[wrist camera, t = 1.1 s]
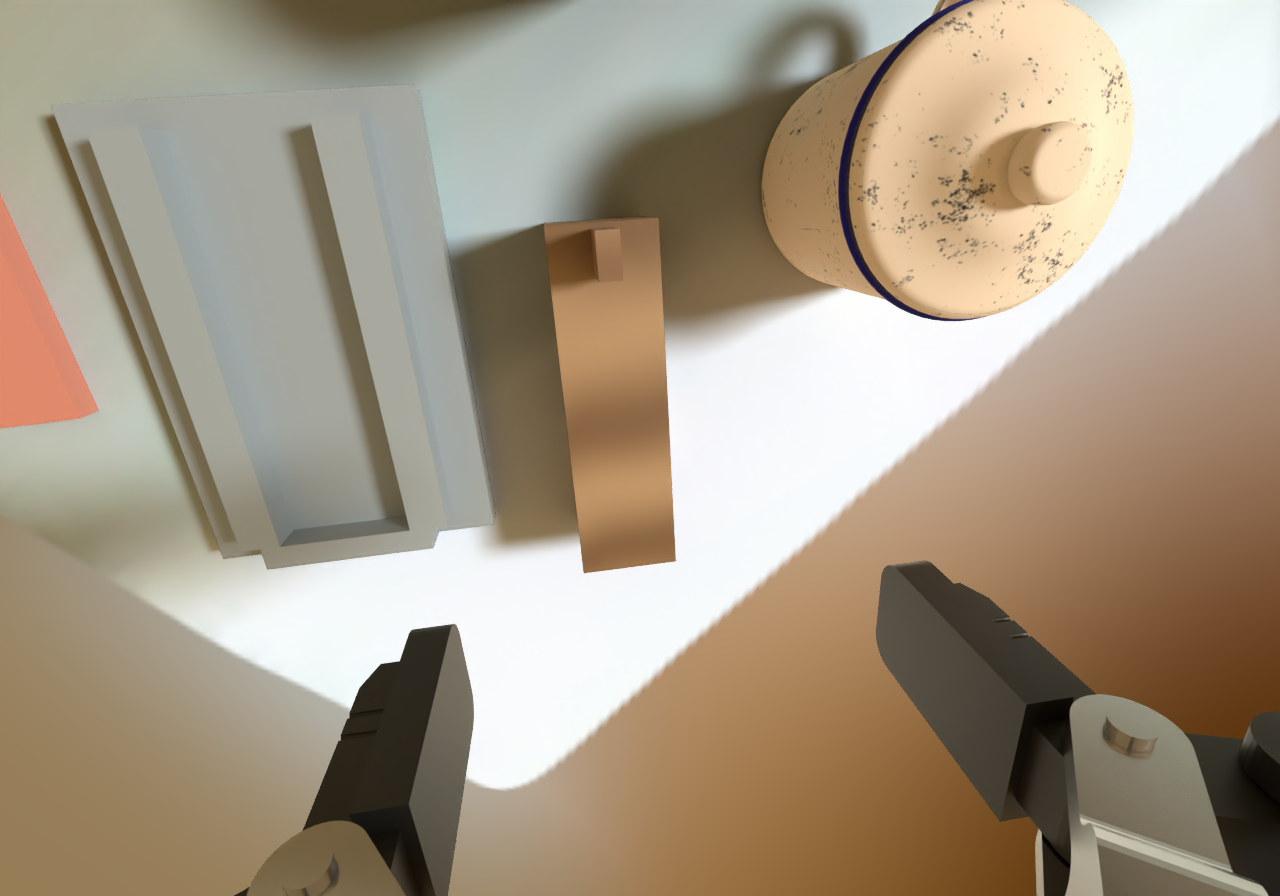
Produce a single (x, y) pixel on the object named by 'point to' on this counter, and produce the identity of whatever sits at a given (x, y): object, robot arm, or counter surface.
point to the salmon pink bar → (33, 345)
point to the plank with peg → (614, 386)
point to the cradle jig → (294, 312)
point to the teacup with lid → (956, 159)
